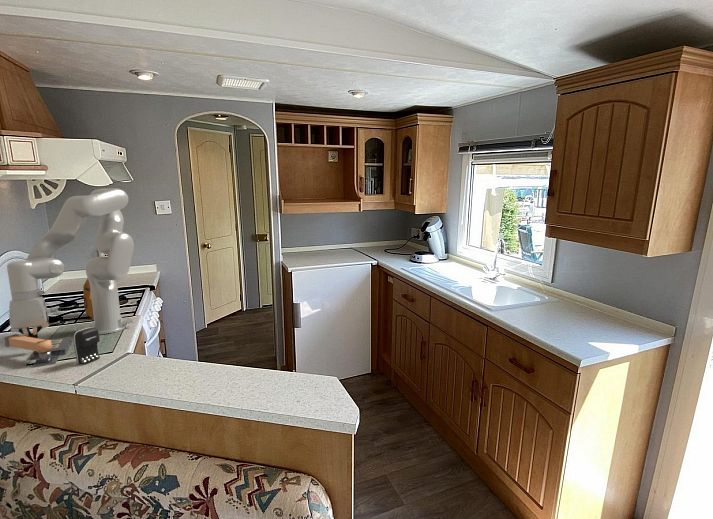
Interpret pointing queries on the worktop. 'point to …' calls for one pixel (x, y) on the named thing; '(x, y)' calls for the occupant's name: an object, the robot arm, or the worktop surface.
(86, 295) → the coffee package
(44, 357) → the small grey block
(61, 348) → the label panel
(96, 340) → the battery charger
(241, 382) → the worktop surface
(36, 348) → the swing bar
